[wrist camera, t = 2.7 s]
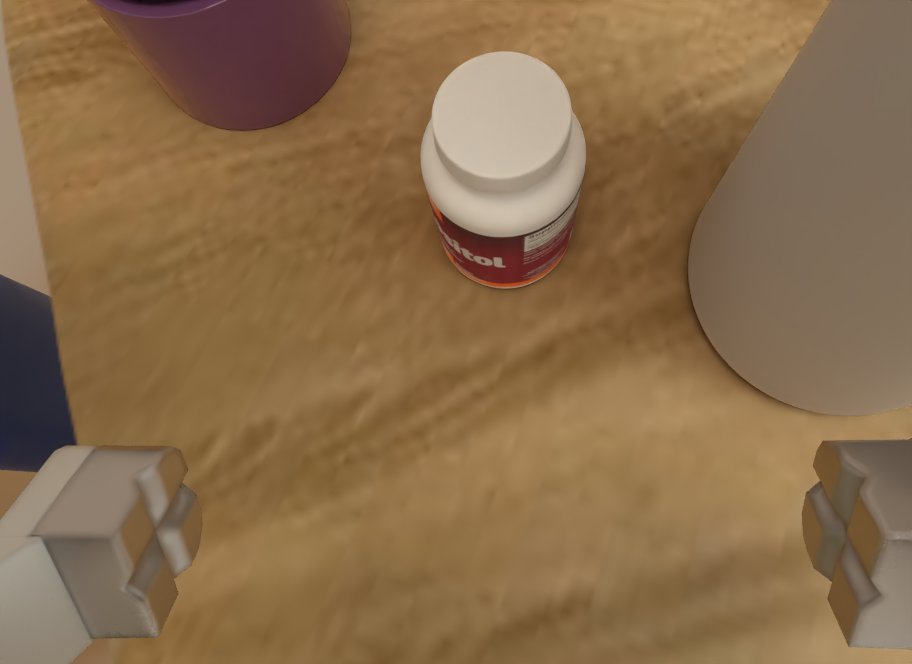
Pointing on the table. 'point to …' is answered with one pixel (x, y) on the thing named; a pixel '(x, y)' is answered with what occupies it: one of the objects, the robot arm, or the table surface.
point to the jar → (236, 54)
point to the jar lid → (154, 1)
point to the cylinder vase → (820, 225)
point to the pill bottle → (503, 168)
